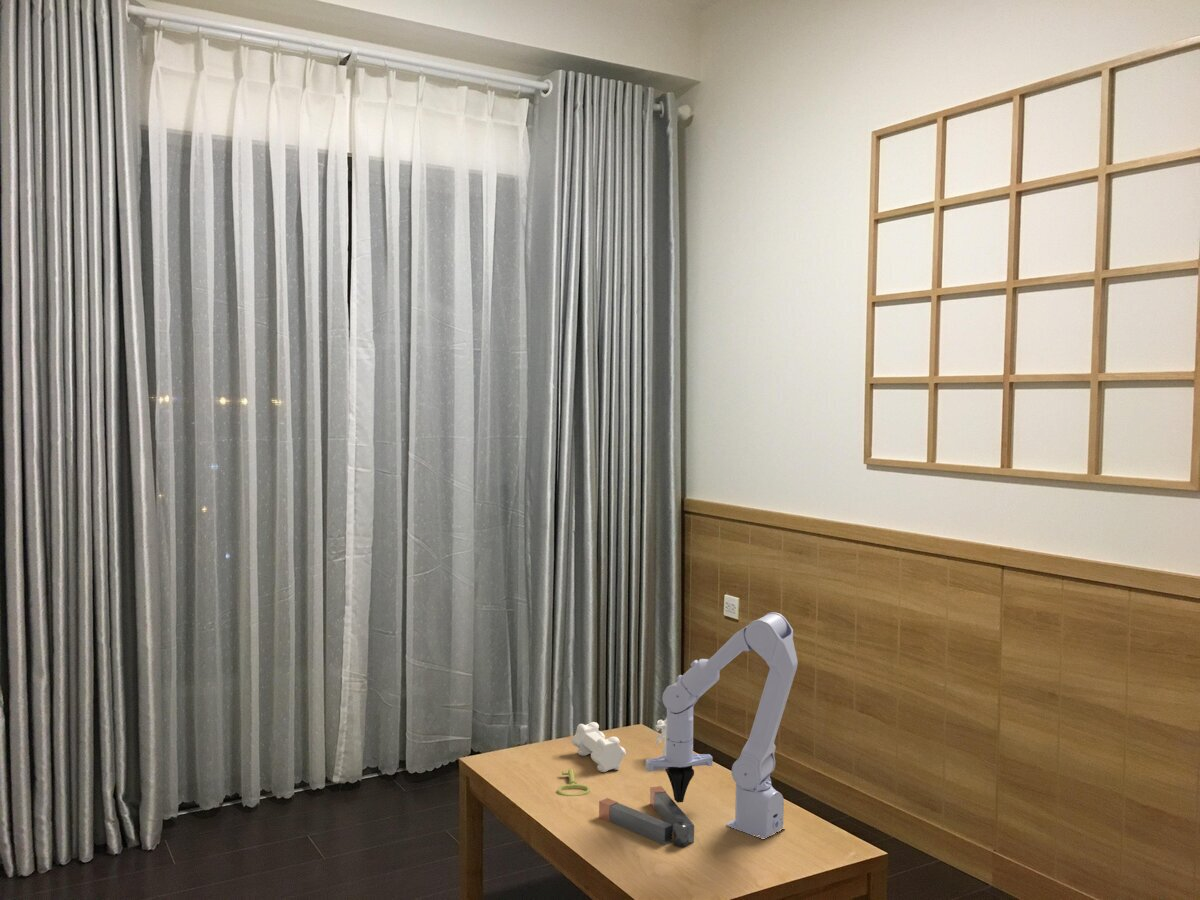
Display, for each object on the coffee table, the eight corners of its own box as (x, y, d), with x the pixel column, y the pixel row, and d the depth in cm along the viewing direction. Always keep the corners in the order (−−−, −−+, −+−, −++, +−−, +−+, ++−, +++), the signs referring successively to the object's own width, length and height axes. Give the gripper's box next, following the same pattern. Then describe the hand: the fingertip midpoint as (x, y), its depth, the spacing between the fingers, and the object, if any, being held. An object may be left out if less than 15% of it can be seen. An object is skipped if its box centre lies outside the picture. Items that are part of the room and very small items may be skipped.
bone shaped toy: (571, 756, 240) (568, 724, 239) (602, 748, 243) (599, 717, 243) (596, 777, 226) (593, 744, 225) (629, 768, 230) (626, 735, 229)
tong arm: (696, 845, 189) (697, 826, 189) (676, 847, 188) (677, 828, 188) (661, 802, 210) (661, 785, 210) (642, 804, 209) (643, 787, 209)
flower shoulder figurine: (687, 765, 233) (688, 716, 232) (675, 768, 230) (675, 719, 230) (662, 754, 240) (663, 706, 239) (650, 757, 237) (651, 709, 237)
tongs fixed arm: (672, 842, 191) (672, 824, 191) (664, 846, 189) (664, 828, 189) (607, 814, 204) (607, 797, 204) (599, 818, 202) (599, 801, 202)
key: (571, 776, 226) (572, 767, 226) (593, 796, 215) (593, 787, 215) (543, 781, 223) (543, 772, 223) (563, 801, 212) (563, 792, 212)
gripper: (704, 729, 212) (703, 790, 213) (641, 734, 208) (640, 796, 209) (716, 740, 205) (715, 802, 206) (651, 745, 201) (651, 809, 202)
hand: (678, 800), depth 207 cm, fingers closed
